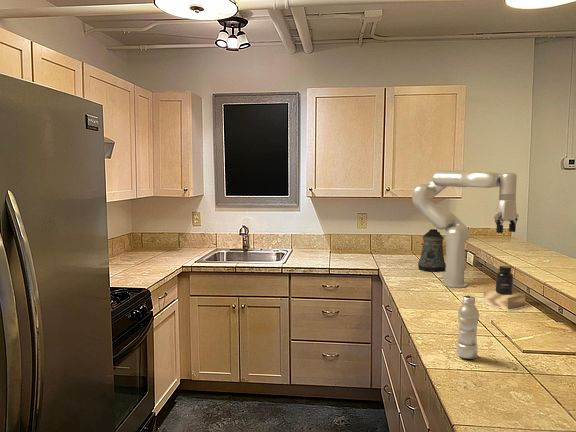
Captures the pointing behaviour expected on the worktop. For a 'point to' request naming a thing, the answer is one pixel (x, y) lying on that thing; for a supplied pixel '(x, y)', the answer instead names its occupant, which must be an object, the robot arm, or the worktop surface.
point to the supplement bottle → (504, 281)
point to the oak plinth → (504, 299)
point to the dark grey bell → (432, 252)
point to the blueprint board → (507, 309)
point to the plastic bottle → (468, 329)
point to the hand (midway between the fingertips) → (505, 232)
